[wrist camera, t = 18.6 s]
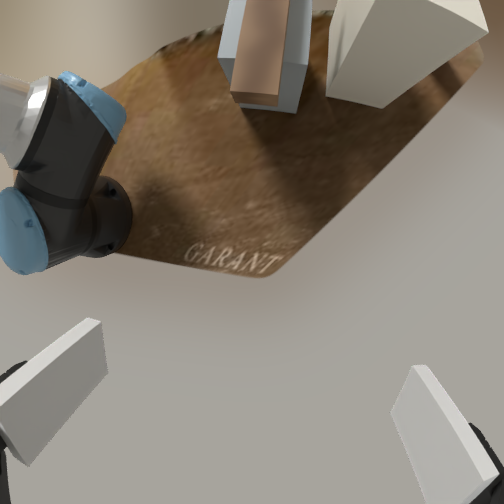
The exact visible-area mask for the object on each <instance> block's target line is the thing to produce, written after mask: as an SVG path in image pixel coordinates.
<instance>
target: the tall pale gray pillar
mask: <svg viewBox="0 0 504 504" xmlns="http://www.w3.org/2000/svg"><path fill="white" fill-rule="evenodd" d="M246 1H247V0H230V2H229V6H228V11H227V15H226V19H225V24H224V28H223V33H222V38H221V42H220V47H219V52H218V60H219V62H220V64H221V66H222V68H223V71H224V73H225V75H226V77H227V79H228V81H229V84H230V86H231V81H232V75H233V69H234V63H235V57H236V52H237V46H238V41H239V36H240V30H241V25H242V20H243V15H244V10H245V5H246ZM311 16H312V0H290V7H289V16H288V25H287V33H286V41H285V50H284V58H283V67H282V75H281V83H280V91H279V99H278V107H275V106H266V105H256V104H244V103H239V106H240V108H252V109H262V110H272V111H280V112H288V113H295V114H296V112H297V108H298V103H299V99H300V95H301V91H302V87H303V83H304V79H305V75H306V70H307V66H308V56H309V44H310V31H311Z"/></svg>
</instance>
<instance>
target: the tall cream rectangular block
mask: <svg viewBox="0 0 504 504" xmlns="http://www.w3.org/2000/svg"><path fill="white" fill-rule="evenodd" d="M487 33H489V31H488V28H487V25H486V21H485V18H484V15H483V12H482V9H481V6H480V3H479V0H338V2H337V5H336V9H335V12H334V15H333V18H332V21H331V24H330V28H329V51H328V68H327V83H326V96H327V97H332V98H337V99H342V100H347V101H352V102H356V103H360V104H365V105H369V106H373V107H376V108H380V109H383V108H384V107H386V106H387V105H388V104H390V103H391V102H392V101H394V100H395V99H396V98H398V97H399V96H400V95H402V94H403V93H404V92H406V91H407V90H408V89H410V88H411V87H412V86H414V85H415V84H416V83H418V82H419V81H420V80H422V79H423V78H425V77H426V76H427V75H429V74H430V73H432V72H433V71H434V70H436V69H437V68H438V67H440V66H441V65H443V64H444V63H445V62H447V61H448V60H450V59H451V58H453V57H454V56H455V55H457V54H458V53H460V52H461V51H463V50H464V49H465V48H467V47H468V46H470V45H471V44H473V43H474V42H476V41H477V40H478V39H480V38H482V37H483V36H484V35H486V34H487Z"/></svg>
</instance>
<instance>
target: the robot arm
mask: <svg viewBox="0 0 504 504" xmlns="http://www.w3.org/2000/svg"><path fill="white" fill-rule="evenodd" d="M125 121H126V111H125V109H124V108H123V106H122V105H121V104H120V103H118V102H117V101H116V100H115V99H113V98H112V97H111V96H109V95H108V94H106V93H105V92H104V91H102V90H101V89H99V88H98V87H96V86H94V85H93V84H91V83H89V82H87V81H86V80H84V79H82V78H81V77H79V76H77V75H76V74H74V73H72V72H69V71H65V72H63V73H62V74H61V75H59V77H58V80H57V79H54V78H52V77H50V76H44V77H42V78H40V79H38V80H36V81H34V82H31V83H28V82H25V81H22V80H20V79H17V78H14V77H11V76H8V75H5V74H2V73H0V153H2V154H3V155H4V157H5V159H6V161H7V163H8V165H9V167H10V168H11V169H15V170H19V171H18V174H17V177H16V180H15V184H14V186H13V187H7V188H6V189H4V190H2V191H1V192H0V256H1V257H2V259H3V261H4V262H5V263H6V265H7V266H8V267H9V268H10V269H11V270H13V271H14V272H16V273H18V274H21V275H28V274H32V273H35V272H42V271H44V270H45V269H48V268H50V267H53V266H55V265H57V264H60V263H62V262H64V261H67V260H69V259H71V258H74V257H77V256H79V255H80V256H86V257H93V258H100V257H104V256H107V255H109V254H112V253H114V252H116V251H117V250H118V249H119V248H120V247H121V246H122V245H123V244H124V242H125V241H126V239H127V237H128V235H129V232H130V228H131V223H132V211H131V205H130V201H129V198H128V196H127V194H126V192H125V190H124V189H123V187H122V186H121V185H120V184H119V183H118V182H117V181H115V180H114V179H112V178H110V177H107V176H99V175H100V173H101V170H102V168H103V166H104V164H105V162H106V160H107V158H108V156H109V154H110V152H111V150H112V148H113V146H114V144H116V143H117V138H118V136H119V134H120V132H121V130H122V128H123V126H124V124H125ZM107 374H108V369H107V363H106V356H105V349H104V341H103V333H102V323H101V321H97V320H95V319H91V318H88V317H87V318H86V319H85V320H83V321H82V322H80V323H79V324H78V325H76V326H75V327H74V328H72V329H71V330H69V331H68V332H67V333H65V334H64V335H63V336H61V337H60V338H59V339H57V340H56V341H55V342H53V343H52V344H51V345H49V346H48V347H47V348H45V349H44V350H43V351H41V352H40V353H39V354H38V355H36V356H35V357H34V358H33V359H31V360H30V361H23V362H21V363H18V364H16V365H14V366H13V367H11V368H10V369H9V370H7V371H6V373H4V374H2V375H1V376H0V504H11V501H10V494H9V486H8V476H7V463H6V455H5V451H4V449H5V448H6V447H8V448H9V450H10V452H11V453H12V454H13V456H14V457H15V458H17V459H18V460H19V461H21V462H22V463H23V464H25V465H26V466H27V467H28V466H30V464H31V463H32V462H33V461H34V460H35V458H36V457H37V456H38V455H39V453H40V452H41V451H42V450H43V448H44V447H45V446H46V445H47V443H48V442H49V441H50V440H51V439H52V438H53V436H54V435H55V434H56V433H57V432H58V430H59V429H60V428H61V427H62V426H63V425H64V423H65V422H66V421H67V420H68V419H69V417H70V416H71V415H72V414H73V413H74V412H75V410H76V409H77V408H78V407H79V406H80V405H81V403H82V402H83V401H84V400H85V399H86V397H87V396H88V395H89V394H90V393H91V392H92V391H93V390H94V388H95V387H96V386H97V385H98V384H99V383H100V382H101V380H102V379H103V378H104V377H105V376H106V375H107ZM390 414H391V416H392V419H393V421H394V423H395V426H396V428H397V430H398V433H399V435H400V438H401V440H402V442H403V445H404V447H405V450H406V452H407V455H408V457H409V460H410V462H411V465H412V467H413V470H414V473H415V475H416V478H417V480H418V483H419V486H420V489H421V491H422V494H423V497H424V499H425V502H426V504H504V467H503V465H502V464H501V462H500V461H499V459H498V457H497V456H496V454H495V453H494V451H493V450H492V448H490V445H489V443H488V442H487V441H485V437H484V436H483V434H482V433H481V431H480V430H479V429H478V428H477V427H475V426H474V425H473V424H472V423H467V421H466V420H465V418H464V417H463V415H462V414H461V412H460V411H459V409H458V408H457V407H456V405H455V404H454V402H453V401H452V399H451V398H450V397H449V395H448V394H447V392H445V390H444V388H443V387H442V386H441V384H440V383H439V381H438V380H437V379H436V377H435V376H434V375H433V373H432V372H431V371H430V370H429V368H428V367H427V365H412V367H411V369H410V371H409V374H408V376H407V379H406V380H405V383H404V385H403V387H402V389H401V392H400V394H399V396H398V398H397V400H396V402H395V404H394V406H393V408H392V410H391V412H390Z"/></svg>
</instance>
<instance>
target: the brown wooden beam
mask: <svg viewBox="0 0 504 504" xmlns="http://www.w3.org/2000/svg"><path fill="white" fill-rule="evenodd" d="M289 7H290V0H247V1H246V5H245V10H244V15H243V20H242V25H241V30H240V36H239V41H238V46H237V52H236V57H235V63H234V69H233V75H232V81H231V87H230V92H231V94H232V96H233V99H234V101H235V103H244V104H256V105H266V106H275V107H278V99H279V91H280V83H281V75H282V67H283V58H284V50H285V41H286V33H287V25H288V16H289Z"/></svg>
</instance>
